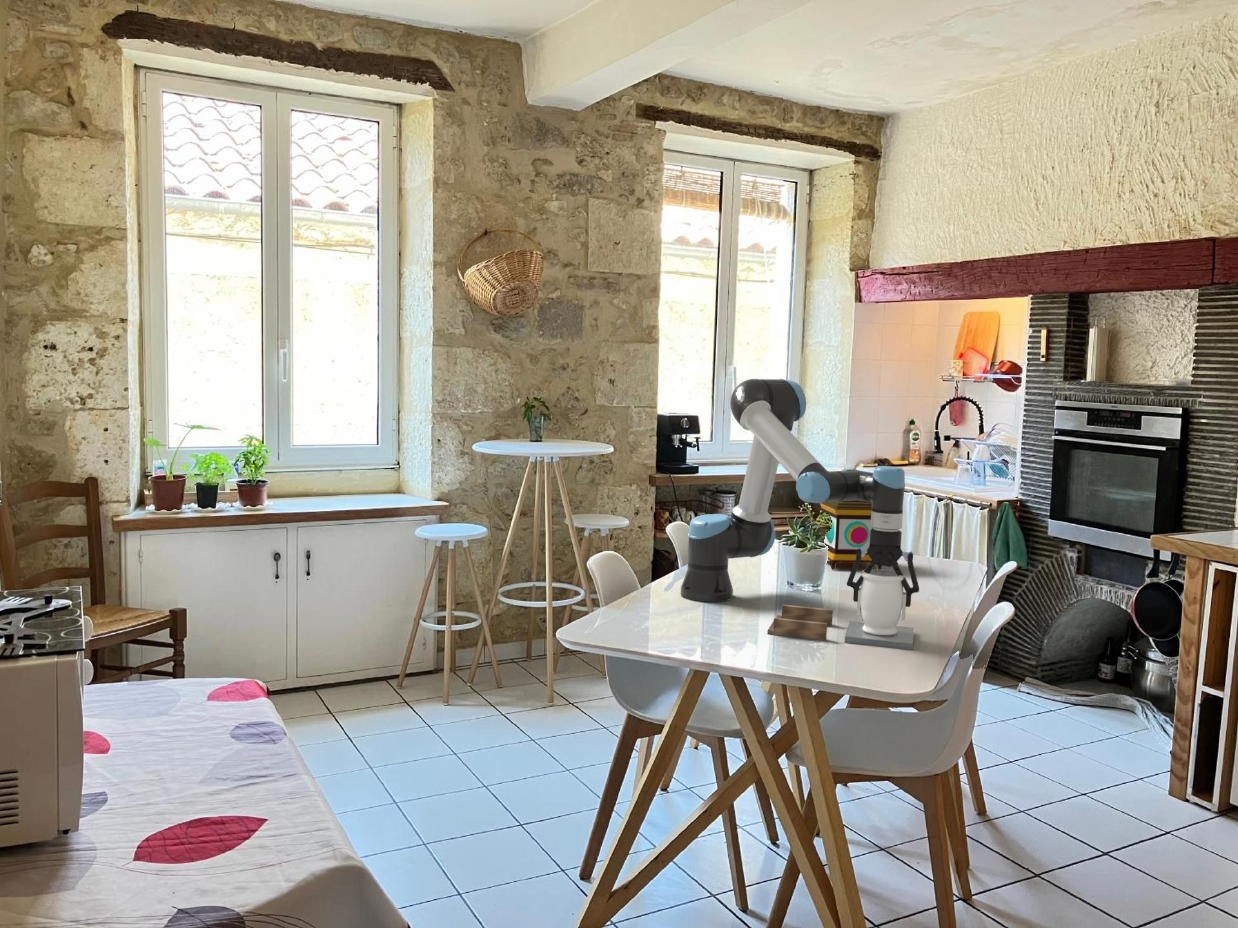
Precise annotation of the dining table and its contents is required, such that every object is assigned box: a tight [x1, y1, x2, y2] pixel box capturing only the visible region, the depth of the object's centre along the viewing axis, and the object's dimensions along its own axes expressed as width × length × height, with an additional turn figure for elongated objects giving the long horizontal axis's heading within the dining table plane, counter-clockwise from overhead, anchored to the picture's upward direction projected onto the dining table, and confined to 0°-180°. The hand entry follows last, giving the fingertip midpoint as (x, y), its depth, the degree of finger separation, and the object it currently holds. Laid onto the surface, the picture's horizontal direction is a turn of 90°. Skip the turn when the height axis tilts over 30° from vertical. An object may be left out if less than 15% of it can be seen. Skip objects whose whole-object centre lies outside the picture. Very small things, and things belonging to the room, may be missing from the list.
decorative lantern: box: [819, 500, 882, 571], centre depth 337 cm, size 20×20×30 cm
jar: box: [860, 568, 905, 636], centre depth 246 cm, size 11×10×15 cm
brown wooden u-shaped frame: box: [766, 604, 834, 641], centre depth 253 cm, size 14×16×4 cm
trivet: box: [844, 620, 915, 650], centre depth 247 cm, size 16×16×2 cm
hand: (880, 616), depth 246 cm, fingers closed on jar, 10 cm apart
